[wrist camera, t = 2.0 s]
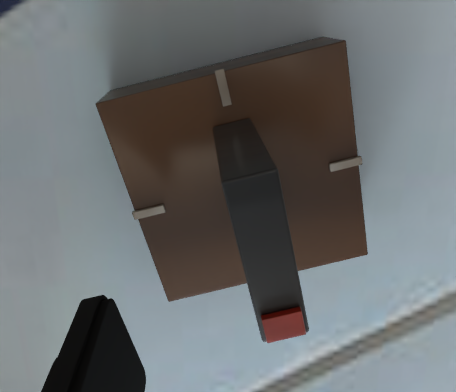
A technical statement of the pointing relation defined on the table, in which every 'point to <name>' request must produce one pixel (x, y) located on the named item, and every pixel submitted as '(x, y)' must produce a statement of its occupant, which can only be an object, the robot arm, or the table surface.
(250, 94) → the panel
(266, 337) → the handle
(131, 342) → the robot arm
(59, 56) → the table surface
